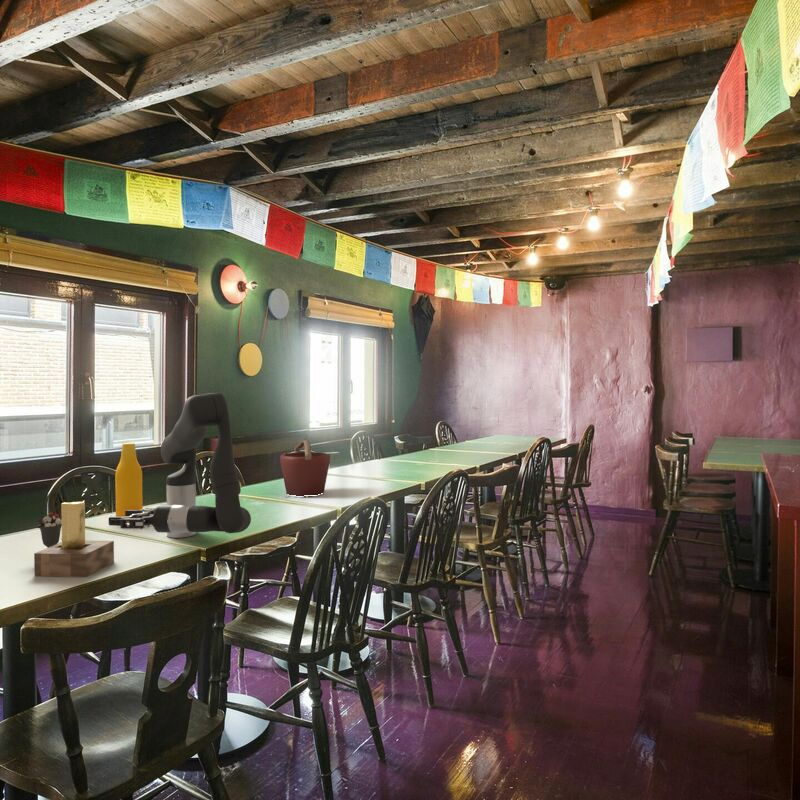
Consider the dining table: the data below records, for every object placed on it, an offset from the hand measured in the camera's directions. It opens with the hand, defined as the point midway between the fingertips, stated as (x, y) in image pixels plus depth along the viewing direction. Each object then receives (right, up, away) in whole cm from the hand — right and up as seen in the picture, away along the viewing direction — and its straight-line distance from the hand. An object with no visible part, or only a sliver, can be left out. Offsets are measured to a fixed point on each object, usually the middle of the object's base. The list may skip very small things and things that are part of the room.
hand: (117, 517), depth 167 cm
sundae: (-24, -14, +10) cm, 29 cm away
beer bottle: (-23, -13, +59) cm, 65 cm away
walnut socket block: (-12, -14, +1) cm, 18 cm away
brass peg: (-12, -14, +1) cm, 18 cm away
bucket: (+34, -12, +117) cm, 122 cm away
